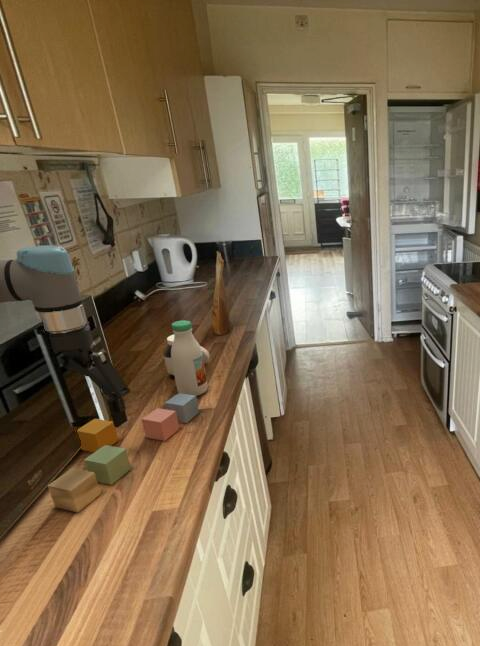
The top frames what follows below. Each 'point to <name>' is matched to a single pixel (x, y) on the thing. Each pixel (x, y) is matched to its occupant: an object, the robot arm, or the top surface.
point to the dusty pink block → (160, 424)
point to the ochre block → (97, 435)
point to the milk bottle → (187, 360)
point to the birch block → (74, 490)
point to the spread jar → (168, 355)
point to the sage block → (108, 464)
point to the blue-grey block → (183, 406)
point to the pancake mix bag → (220, 301)
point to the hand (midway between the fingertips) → (94, 419)
